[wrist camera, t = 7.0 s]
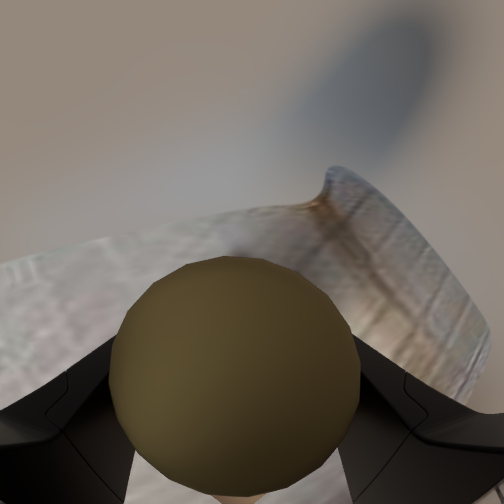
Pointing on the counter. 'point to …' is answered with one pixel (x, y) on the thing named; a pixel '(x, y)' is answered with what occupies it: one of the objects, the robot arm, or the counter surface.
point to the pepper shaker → (234, 376)
